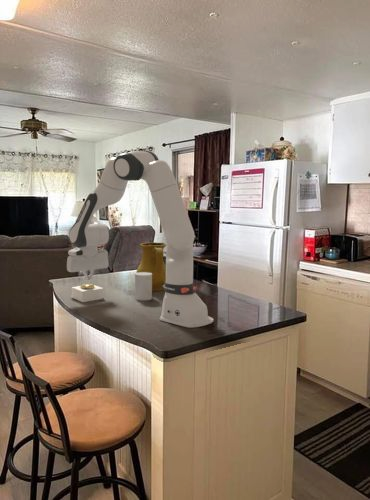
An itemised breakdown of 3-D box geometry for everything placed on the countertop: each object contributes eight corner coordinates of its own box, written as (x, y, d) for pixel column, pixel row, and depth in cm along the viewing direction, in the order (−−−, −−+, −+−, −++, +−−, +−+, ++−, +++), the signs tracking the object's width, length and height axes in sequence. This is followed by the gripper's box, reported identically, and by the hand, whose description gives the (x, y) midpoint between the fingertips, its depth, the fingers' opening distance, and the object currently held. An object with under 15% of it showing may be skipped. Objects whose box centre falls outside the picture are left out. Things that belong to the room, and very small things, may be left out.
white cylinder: (148, 300, 186) (149, 275, 184) (132, 299, 187) (132, 274, 186) (153, 296, 194) (154, 272, 192) (137, 295, 195) (138, 271, 194)
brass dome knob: (96, 297, 188) (96, 285, 187) (84, 299, 184) (84, 287, 183) (90, 294, 193) (90, 283, 192) (78, 296, 189) (78, 284, 188)
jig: (103, 298, 188) (103, 288, 187) (82, 302, 181) (82, 291, 180) (92, 294, 196) (92, 284, 195) (71, 297, 189) (71, 287, 188)
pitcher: (171, 285, 219) (170, 240, 215) (166, 294, 201) (165, 246, 196) (140, 284, 221) (139, 240, 216) (133, 294, 202) (131, 246, 198)
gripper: (104, 248, 195) (104, 275, 197) (64, 251, 182) (65, 281, 183) (110, 249, 190) (111, 277, 192) (70, 252, 177) (71, 283, 179)
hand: (88, 279), depth 187 cm, fingers closed
